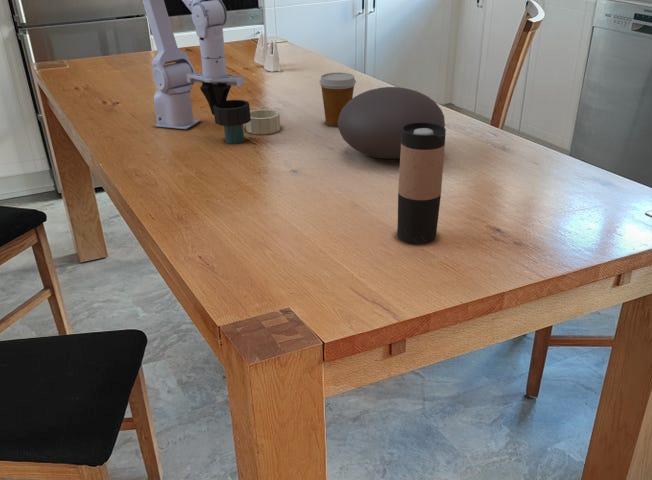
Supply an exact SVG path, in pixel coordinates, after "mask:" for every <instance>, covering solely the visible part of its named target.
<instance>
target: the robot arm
mask: <svg viewBox="0 0 652 480" xmlns="http://www.w3.org/2000/svg"><path fill="white" fill-rule="evenodd" d="M181 1H182V2H183V4H184V5H185V7H186V8H187V9H188V10H189V11H190V13H191V14H190V15H191V21H192V23H193V25H194V27H195V33H196V37H198V40H199V41H198V42H199V49H200V51H199V52H200V60H201V70H202V71H201V72H196V70H195V67H194V66H193V64H192V62H191V60H190V58H189V55H188V53H186V52H185V51H183V50H181V49H180V48H179V47H178V44H177V41H176V38H175V34H174V30H173V28H172V23H171V21H170V16H169V14H168V10H167V7H166V3H165V0H142V1H141V2H142V4H143V7H144V11H145V15H146V18H147V22H148V24H149V28H150V31H151V35H152V37H153V42H154V44H155V48H156V51H157V53H156V55H155V57H154V58H153V60H152V62H151V64H150V65H151V69H152V78H153V83H154V86H155V87H156V89H157V90H156V91H155V93H154V96H153V105H154V113H155V120H156V124H155V127H158V128H166V129H178V130H189V129H190V128H191V127H193V126H194V125H197V124H198V123H199V122H201V119H199V118H194V112H193V102H192V94H191V91H192V90H193V85H195V83H197V84H198V83H200V84H201V86H200V87H199V90H200V92H202V94H203V96H204V97H205V100H206V101H207V103H208V106H209V109H210V112H211V115H212V116H214V109H213V105H214V104H215V103H217V107H219V108H225V104H226V100H228V96H229V93H230V90H231V88H232V86H233V87H237V88H241V87H243V86H245V81H244V80H245V78H244V76H238V75H234V74H229V73H227V65H226V52H225V41H224V40H225V39H224V38H225V37H224V28H223V27H224V26H225V25H226V23H227V20H228V19H227V18H228V13H227V8H226V6H225V4H224V2H223V0H181Z"/></svg>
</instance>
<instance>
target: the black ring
mask: <svg viewBox="0 0 652 480" xmlns="http://www.w3.org/2000/svg"><path fill="white" fill-rule="evenodd" d="M213 109H214V115H213V117H214V123H215V125H218V126H222V127H224V126H237V125H242V124H243V125H246V123H248V122H249V121H251V117H250V111H251V108H250V103H249V101H247V100H243V99H226V104H225V108H219V107H217V103H215V104H214V105H213Z"/></svg>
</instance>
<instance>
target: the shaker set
mask: <svg viewBox="0 0 652 480" xmlns="http://www.w3.org/2000/svg"><path fill="white" fill-rule="evenodd" d="M253 61H254V63H256V64H258V65H260V66H261V67H263V69H265V70H266V71H267V72H282V68H281V62H280V54H279V48H278V44H277V40H276V39H275V40H274V39H272V40H270V41H269V43H268V37H267V34H266V33H265V32H260V33H259V36H258V39H257V45H256V49H255V53H254V58H253Z"/></svg>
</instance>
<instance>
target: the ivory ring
mask: <svg viewBox="0 0 652 480" xmlns="http://www.w3.org/2000/svg"><path fill="white" fill-rule="evenodd" d="M280 116H281V115H280V112H279V111H278V110H275V109H270V108H260V109H252V110H250V117H251V121H249V122H248V123H246V124H245V130H246V132H247V133H250V134H252V135H270V134H274V133H278V132H279V131H280V130H281V117H280Z"/></svg>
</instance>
